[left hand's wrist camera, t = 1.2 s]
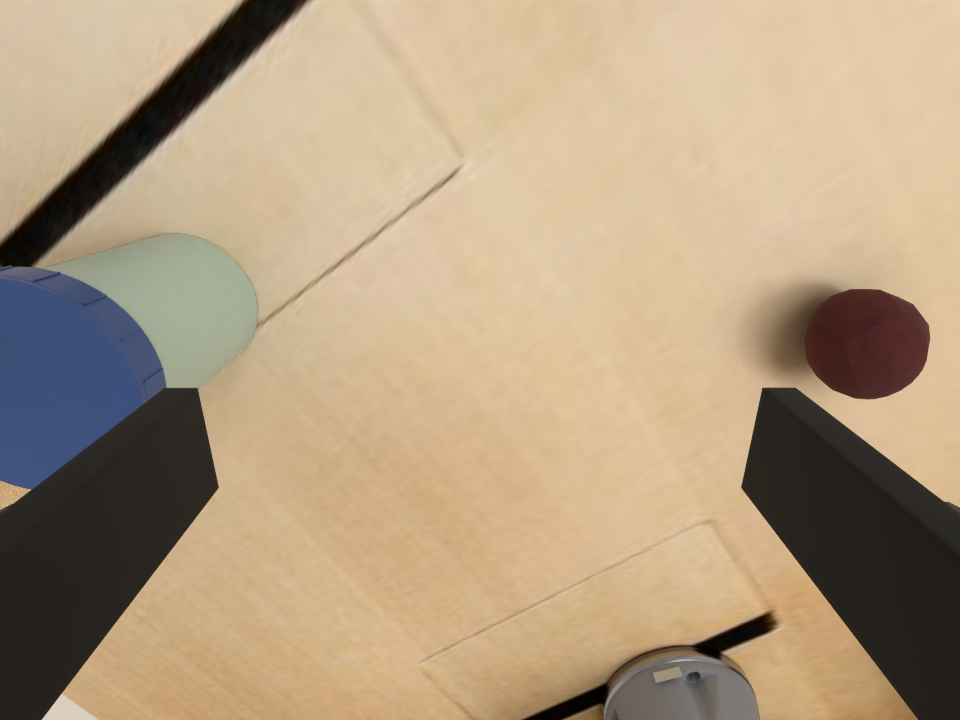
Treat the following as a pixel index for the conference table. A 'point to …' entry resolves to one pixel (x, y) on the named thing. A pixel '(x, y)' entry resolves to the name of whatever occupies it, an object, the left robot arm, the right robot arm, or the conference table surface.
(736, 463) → the conference table surface
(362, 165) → the conference table surface
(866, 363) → the dark red ball
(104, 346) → the lid
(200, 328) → the jar
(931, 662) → the left robot arm
